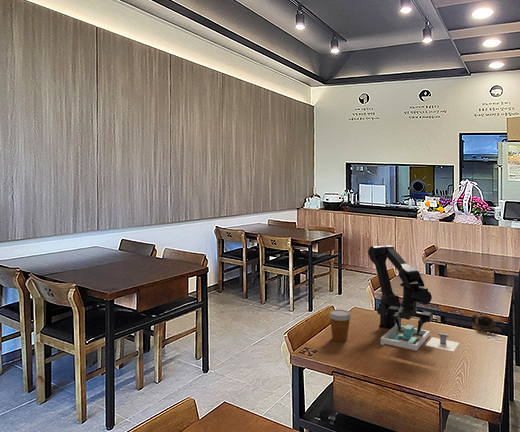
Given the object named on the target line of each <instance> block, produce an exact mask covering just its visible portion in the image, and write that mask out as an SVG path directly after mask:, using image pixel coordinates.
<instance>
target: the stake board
mask: <svg viewBox="0 0 520 432" xmlns="http://www.w3.org/2000/svg"><path fill="white" fill-rule="evenodd" d="M449 335H450V334H448V333H443V332H438V333H437V336H439V338H438V337H433V336H432V337H431V338H430V340H429V341H427V343H426V344H425V346H426V347H431V348H436V349H440V350H443V351H444V350H445V351H450V352H454V353H455V350H456V349H457V348H458V346H459V344H460V342H457V341H452V340H449V339H447V338H449Z"/></svg>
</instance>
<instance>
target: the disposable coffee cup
mask: <svg viewBox="0 0 520 432" xmlns="http://www.w3.org/2000/svg"><path fill="white" fill-rule="evenodd" d="M328 316H329V320H330V328H331V338H332V340H333V341H335V342H341V343H342V342H346V341H347V339H348V335H349V326H350V321H351V320H350V319H351V318H352V315H351V313H350V311H348V310H345V309H332V310H330V311H329V314H328Z"/></svg>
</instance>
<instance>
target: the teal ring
mask: <svg viewBox="0 0 520 432" xmlns="http://www.w3.org/2000/svg"><path fill="white" fill-rule="evenodd" d="M404 326H405V327H404V330H403V331H402V334H401V333H399V332H397V333H396V334H395V335H394V336H393V337H392V338H391V339H392V340H397V341H401V342H406V343H410V344H416V343H417V342H418V337H416V336H414V335H415V333H414V328H415V325H412V324H406V325H404ZM402 339H403V340H402ZM406 340H408V341H406Z"/></svg>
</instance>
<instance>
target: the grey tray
mask: <svg viewBox="0 0 520 432" xmlns="http://www.w3.org/2000/svg"><path fill="white" fill-rule="evenodd" d="M405 326H406V325H401V331H402V332H403V330H404V327H405ZM417 329H418V327H417V328H416V327H414V335H415V334H417ZM401 331H399V329H398V326H397V324H396V325H395V326H394V327H393V328H391V329H388V331H387V332H386V333H384V335H382V336H381V337H380V345H381V346H385V344H386V345H390V346H395V347H397V348H398V347H399V348H403V349H408V350H412V351H415V352H416V351H418V350H419V349H420V348H421V346H422V345H423V344H424V343H425V341H426V340H427V339H428V338H429V337H430V335H431V334H430V333H431V331H430V330H425V329H423V328H421V330H420V332H419V334H418V335H421V337H420V338H419V339H418V340H417V341H416V342H415V343H414V344H410V343H406V342H401V341H397V340H392V339H391V338H392V337H393V336H394V335H395V334H396V333H399V332H401Z"/></svg>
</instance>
